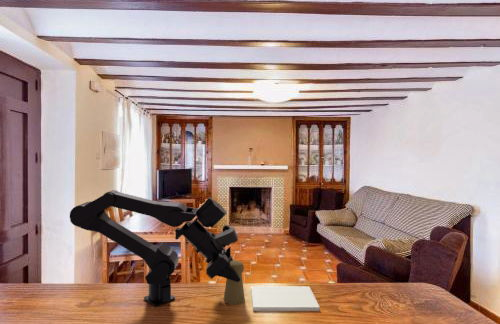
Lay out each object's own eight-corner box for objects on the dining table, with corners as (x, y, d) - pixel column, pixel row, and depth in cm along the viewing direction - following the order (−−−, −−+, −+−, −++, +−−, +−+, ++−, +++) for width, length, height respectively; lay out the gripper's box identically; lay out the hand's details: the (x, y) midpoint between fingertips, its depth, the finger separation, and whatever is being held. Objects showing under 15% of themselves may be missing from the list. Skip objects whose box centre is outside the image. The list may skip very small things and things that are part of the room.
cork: (242, 305, 92) (242, 266, 91) (221, 303, 93) (221, 264, 93) (246, 295, 98) (247, 259, 97) (226, 293, 99) (227, 257, 98)
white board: (253, 310, 89) (253, 307, 89) (251, 289, 102) (251, 286, 102) (319, 310, 90) (319, 307, 90) (309, 289, 103) (309, 286, 103)
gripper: (219, 227, 85) (262, 270, 86) (222, 211, 103) (257, 247, 104) (188, 257, 85) (231, 299, 86) (197, 236, 104) (232, 271, 105)
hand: (239, 276), depth 95 cm, fingers closed on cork, 5 cm apart
